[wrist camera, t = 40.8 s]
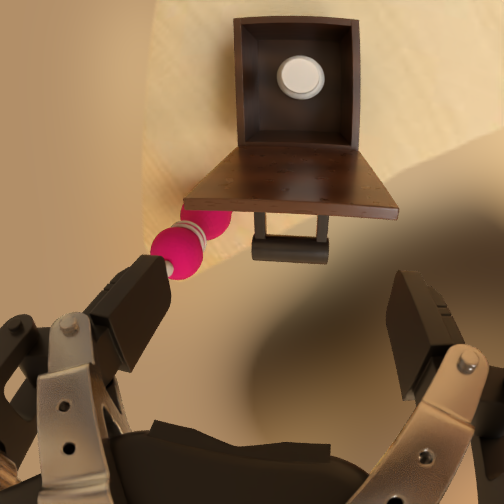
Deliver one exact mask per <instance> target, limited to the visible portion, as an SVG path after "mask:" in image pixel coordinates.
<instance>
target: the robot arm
mask: <svg viewBox="0 0 504 504" xmlns="http://www.w3.org/2000/svg"><path fill="white" fill-rule="evenodd" d="M170 303H171V290H170V285H169V280H168V274H167V269H166V264H165V260H164V258H163V257H162V256H157V255H141V256H140V257H139V258H138V259H137V260H136V261H135V262H134V263H133V264H132V265H131V266H130V267H128V268H126V269H125V270H123V271H121V272H120V273H118V274H117V275H116V276H115V277H114V278H113V279H112V280H111V281H110V284H107V286H106V287H105V288H104V290H103V291H101V292H100V293H99V295H97V297H96V298H95V299H94V300H93V301H92V302H91V303H90V304H89V306H88V307H87V308H86V309H85V310H84V311H83V312H82V313H80V312H72V313H68V314H65V315H63V316H62V317H60V318H58V319H57V320H56V321H55V322H54V323H53V325H52V326H51V327H42V328H37V327H36V325H35V323H34V321H33V319H32V317H31V316H29V315H27V314H22V315H17V316H15V317H13V318H11V319H9V320H8V321H7V322H6V323H5V324H4V325H3V326H2V327H1V328H0V504H439V503H440V501H441V499H442V498H443V496H444V494H445V492H446V491H447V489H448V487H449V485H450V483H451V481H452V479H453V477H454V476H455V474H456V472H457V470H458V467H459V466H460V463H461V461H462V459H463V457H464V455H465V453H466V450H467V448H468V446H469V443H470V441H471V446H472V452H473V459H474V466H475V474H476V481H477V491H478V504H504V368H498V367H494V366H489V363H488V361H487V359H486V357H485V355H484V354H483V353H482V352H481V351H480V350H478V349H477V348H475V347H473V346H470V345H467V344H465V342H464V340H463V337H462V335H461V333H460V331H459V329H458V327H457V325H456V322H455V321H454V318H453V316H451V312H450V310H449V309H448V308H447V305H446V303H445V301H444V299H443V297H442V295H441V294H440V293H438V292H437V291H436V290H435V289H434V288H433V287H432V286H427V285H426V283H425V281H424V279H423V277H422V275H421V273H420V272H419V271H403V270H398V271H397V273H396V275H395V279H394V283H393V287H392V292H391V295H390V299H389V303H388V306H387V311H386V325H387V330H388V334H389V338H390V342H391V346H392V351H393V355H394V360H395V364H396V369H397V374H398V378H399V383H400V388H401V394H402V399H403V401H410V400H415V402H416V408H415V410H414V411H413V413H412V414H411V416H410V417H409V419H408V421H407V422H406V424H405V425H404V427H403V428H402V430H401V431H400V433H399V434H398V436H397V437H396V439H395V440H394V441H393V443H392V444H391V446H390V447H389V448H388V450H387V451H386V453H385V454H384V455H383V457H382V458H381V459H380V461H379V462H378V463H377V464H376V466H375V467H374V468H373V470H372V471H371V472H370V473H369V474H368V473H367V472H365V471H364V470H362V469H361V468H359V467H358V466H356V465H355V464H353V463H350V462H348V461H346V460H343V459H340V458H338V457H334V456H330V446H331V445H330V444H309V443H292V442H281V443H274V444H264V445H254V446H242V447H237V446H233V445H230V444H228V443H225V442H223V441H220V440H218V439H216V438H213V437H211V436H208V435H206V434H204V433H202V432H200V431H197V430H195V429H192V428H187V427H183V426H178V425H174V424H169V423H166V422H162V421H158V420H154V423H153V425H152V427H151V429H150V431H149V430H146V431H134V432H132V431H131V429H130V426H129V424H128V421H127V418H126V414H125V411H124V407H123V403H122V399H121V395H120V391H119V386H118V382H117V379H116V377H115V374H116V372H117V371H118V370H121V371H125V372H129V373H131V372H132V370H133V369H134V367H135V365H136V363H137V362H138V360H139V358H140V356H141V355H142V353H143V351H144V350H145V348H146V346H147V344H148V343H149V341H150V339H151V338H152V336H153V334H154V333H155V331H156V329H157V327H158V326H159V324H160V322H161V321H162V319H163V317H164V316H165V314H166V312H167V311H168V309H169V307H170ZM18 366H19V367H20V369H21V371H22V372H23V373H24V375H25V376H26V379H25V381H24V382H23V384H22V385H21V387H20V388H19V390H18V391H17V393H16V394H15V396H14V397H13V399H12V400H11V402H10V403H9V402H8V401H7V400H6V398H5V395H4V387H5V384H6V383H7V381H8V380H9V378H10V377H11V376H12V374H13V373H14V371H15V370H16V369H17V367H18ZM37 433H38V447H39V458H40V467H41V474H39V475H36V476H34V477H32V478H30V479H27V480H25V481H23V482H22V481H21V480H20V479H19V478H18V477H17V471H18V469H19V467H20V465H21V463H22V461H23V459H24V457H25V455H26V453H27V451H28V449H29V447H30V446H31V444H32V442H33V440H34V438H35V436H36V434H37Z"/></svg>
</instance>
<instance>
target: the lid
mask: <svg viewBox="0 0 504 504" xmlns="http://www.w3.org/2000/svg"><path fill="white" fill-rule="evenodd" d="M183 201H184V209H185V210H203V211H241V212H254V226H255V234H254V235H253V239H252V259H253V260H260V261H276V262H293V263H310V264H327V262H328V255H329V239H328V238H327V233H328V222H329V221H328V220H329V216H345V217H361V218H374V219H386V220H387V219H388V220H397V219H398V213H399V208H398V206H397V204H396V203H395V201H394V200H393V198H392V197H391V195H390V194H389V192H388V191H387V189H386V188H385V186H384V185H383V183H382V182H381V181H380V179H379V178H378V176H377V175H376V174H375V172H374V171H373V169H372V168H371V167H370V165H369V164H368V163H367V161H366V160H365V159H364V157H363V156H362V155H361V153H360V152H359V151H352V150H339V149H323V148H303V147H260V146H244V147H236V148H235V149H234V150H233V151H232V152H231V153H230V154H229V155H228V156H227V157H226V158H224V159H223V160H222V161H221V162H220V163H219V164H218V165H217V166H216V167H215V168H214V169H213V170H212V171H211V172H210V173H209V174H208V175H207V176H206V177H205V178H204V179H203V180H202V181H200V182H199V183H198V184H197V185H196V186H195V187H194V188H193V189H192V190H191V191H190V192H189V193H188V194H187V195H186V196H185V197H184V199H183ZM266 212H268V213H291V214H311V215H317V230H316V237H311V236H291V235H273V234H266Z"/></svg>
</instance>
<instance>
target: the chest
mask: <svg viewBox="0 0 504 504" xmlns="http://www.w3.org/2000/svg"><path fill="white" fill-rule="evenodd" d="M233 23H234V54H235V82H236V108H237V133H238V147H244V146H260V147H303V148H323V149H339V150H352V151H358V147H359V126H360V34H359V20H354V19H344V18H332V17H314V16H265V17H247V18H235V19H233ZM293 56H307V57H310V58H312V59H314V60H315V61H316V62H317V63H318V64H319V65H320V66H321V68H322V70H323V72H324V76H325V82H324V85H323V88H322V89H321V91H320V92H319V93H318V94H317V95H316V96H314V97H312V98H309V99H305V100H299V99H294V98H291V97H289V96H287V95H286V94H285V93H284V92H283V91H282V90H281V89H280V87H279V85H278V82H277V71H278V69H279V67H280V65H281V64H282V63H283V62H284V61H285V60H286V59H288V58H290V57H293Z"/></svg>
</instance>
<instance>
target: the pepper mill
mask: <svg viewBox="0 0 504 504" xmlns="http://www.w3.org/2000/svg"><path fill="white" fill-rule="evenodd" d="M232 212H233V211H203V210H185V209H184V204H183V206H182V209H181V214H180V218H181V221H178V222H176V223H174V224H173V225H172V226H171V227H170V228H168V229H165V230H163V231H162V232H160V233H159V234H158V235H157V236H156V238H155V239H154V241H153V243H152V246H151V251H150V255H157V256H162V257H163V258H164V260H165V264H166V269H167V274H168V278H169V279H173V280H182V279H186V278H188V277H190V276H192V275H193V274H194V273H195V272H196V271H197V270H198V268H199V267H200V265H201V263H202V260H203V252H204V250H205V248H206V245H207V240H211V239H214V238H216V237H218V236H220V235H221V234H222V233H223V232H224V231H225V230H226V229H227V227H228V226H229V224H230V220H231V214H232Z"/></svg>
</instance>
